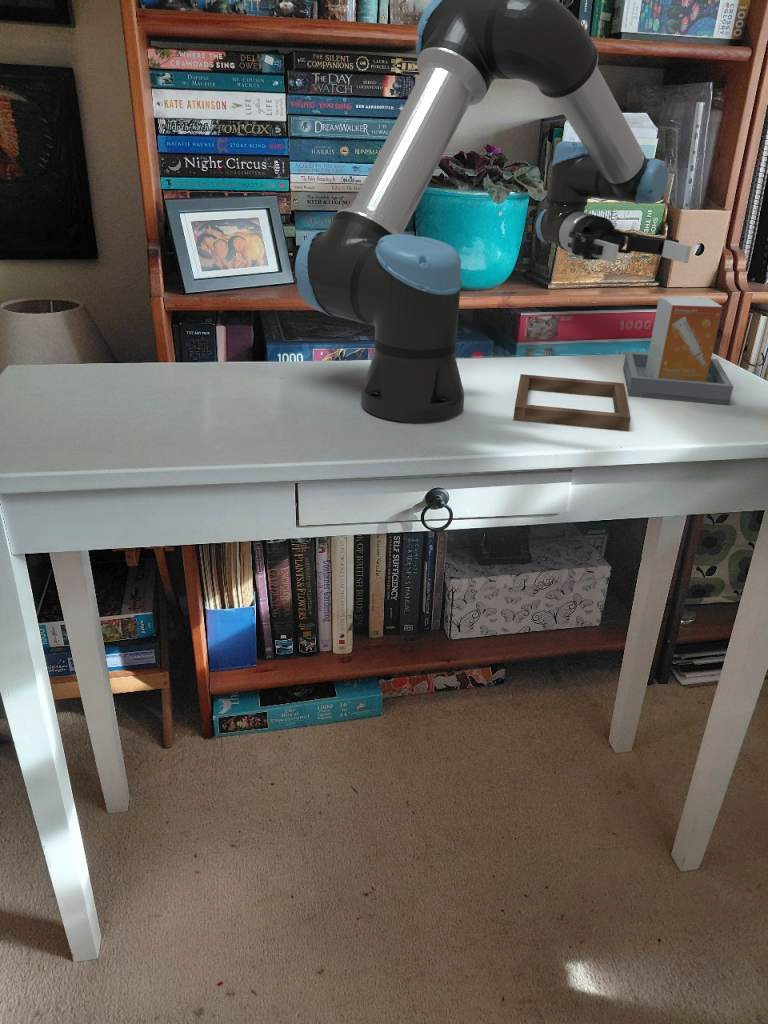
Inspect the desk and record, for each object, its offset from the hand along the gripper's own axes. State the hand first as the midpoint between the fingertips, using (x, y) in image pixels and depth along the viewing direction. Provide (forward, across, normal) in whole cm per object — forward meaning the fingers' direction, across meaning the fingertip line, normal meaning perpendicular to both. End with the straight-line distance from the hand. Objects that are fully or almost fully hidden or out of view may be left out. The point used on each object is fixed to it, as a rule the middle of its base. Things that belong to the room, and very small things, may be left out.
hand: (652, 254), depth 135 cm
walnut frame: (+16, +20, -20) cm, 33 cm away
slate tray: (+10, -1, -19) cm, 22 cm away
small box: (+10, -1, -18) cm, 21 cm away
